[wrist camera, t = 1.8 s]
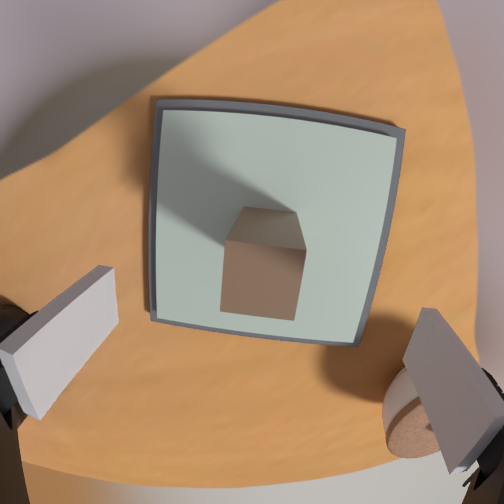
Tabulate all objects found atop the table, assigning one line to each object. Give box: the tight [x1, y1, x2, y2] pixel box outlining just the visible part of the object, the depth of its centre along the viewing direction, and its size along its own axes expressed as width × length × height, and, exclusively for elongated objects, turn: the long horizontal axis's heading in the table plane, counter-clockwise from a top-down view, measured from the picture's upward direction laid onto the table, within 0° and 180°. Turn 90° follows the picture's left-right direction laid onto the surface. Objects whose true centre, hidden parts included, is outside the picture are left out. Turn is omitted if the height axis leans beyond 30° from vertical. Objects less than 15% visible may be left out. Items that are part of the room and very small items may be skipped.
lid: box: [156, 110, 397, 343], centre depth 21 cm, size 18×18×10 cm
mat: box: [149, 99, 406, 347], centre depth 26 cm, size 20×20×1 cm
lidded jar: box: [382, 367, 440, 458], centre depth 26 cm, size 11×11×9 cm
